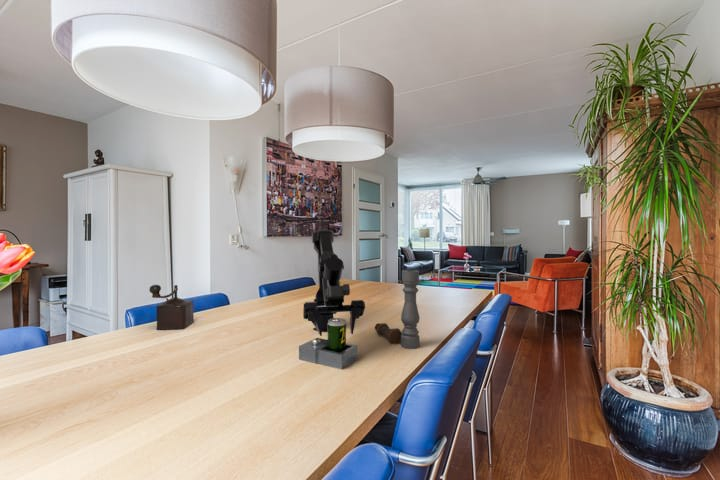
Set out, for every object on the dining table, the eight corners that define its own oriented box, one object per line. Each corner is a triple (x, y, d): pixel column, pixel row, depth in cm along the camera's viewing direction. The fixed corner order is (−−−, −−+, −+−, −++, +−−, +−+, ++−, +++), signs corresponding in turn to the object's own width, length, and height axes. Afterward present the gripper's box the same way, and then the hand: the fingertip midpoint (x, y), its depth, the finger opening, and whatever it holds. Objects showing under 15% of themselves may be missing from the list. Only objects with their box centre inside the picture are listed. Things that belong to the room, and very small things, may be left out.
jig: (298, 359, 102) (298, 342, 101) (317, 350, 109) (316, 334, 109) (341, 369, 94) (341, 351, 94) (357, 358, 102) (357, 342, 102)
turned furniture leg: (420, 344, 116) (421, 270, 115) (417, 350, 110) (418, 272, 109) (402, 342, 118) (403, 269, 117) (398, 347, 112) (399, 271, 111)
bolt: (380, 336, 130) (398, 348, 116) (369, 331, 128) (386, 342, 114) (386, 322, 131) (405, 332, 117) (376, 317, 129) (393, 326, 115)
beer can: (325, 363, 98) (325, 322, 98) (330, 356, 104) (330, 317, 103) (343, 364, 97) (343, 323, 97) (347, 357, 103) (347, 318, 102)
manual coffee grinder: (166, 323, 141) (165, 279, 141) (194, 322, 143) (193, 279, 142) (147, 334, 126) (146, 285, 126) (178, 333, 127) (178, 285, 127)
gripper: (303, 275, 103) (305, 321, 92) (364, 274, 107) (372, 318, 96) (302, 296, 111) (304, 341, 100) (358, 294, 115) (366, 337, 104)
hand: (336, 334), depth 100 cm, fingers open, 9 cm apart
